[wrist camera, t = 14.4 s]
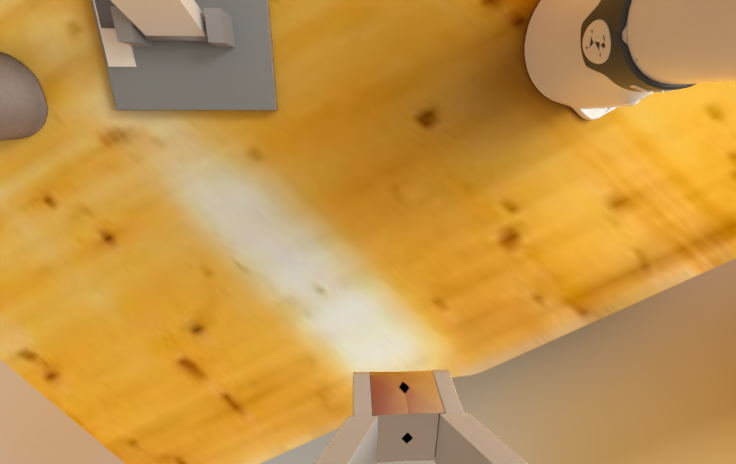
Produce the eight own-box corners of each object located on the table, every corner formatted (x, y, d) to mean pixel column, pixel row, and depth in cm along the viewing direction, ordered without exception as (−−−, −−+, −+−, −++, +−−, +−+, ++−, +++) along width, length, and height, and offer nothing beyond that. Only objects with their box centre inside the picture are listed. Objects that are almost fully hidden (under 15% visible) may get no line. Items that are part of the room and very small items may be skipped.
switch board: (277, 109, 42) (269, 110, 37) (124, 109, 41) (96, 110, 37) (264, -51, 37) (251, -74, 32) (86, -56, 36) (47, -80, 31)
